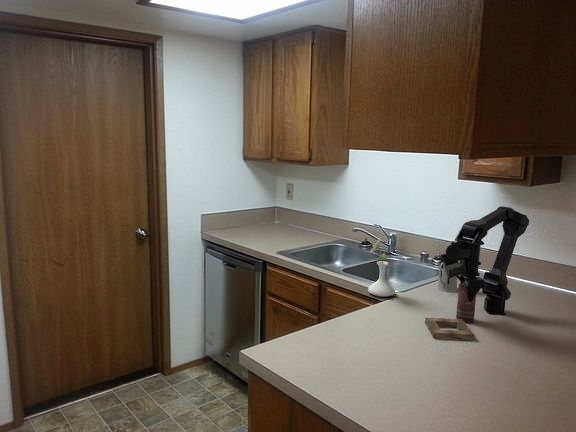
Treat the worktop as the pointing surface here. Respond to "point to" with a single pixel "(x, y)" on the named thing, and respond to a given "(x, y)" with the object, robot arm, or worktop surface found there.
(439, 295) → the worktop surface
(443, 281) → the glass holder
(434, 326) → the socket block
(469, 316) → the can
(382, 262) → the flower in vase
